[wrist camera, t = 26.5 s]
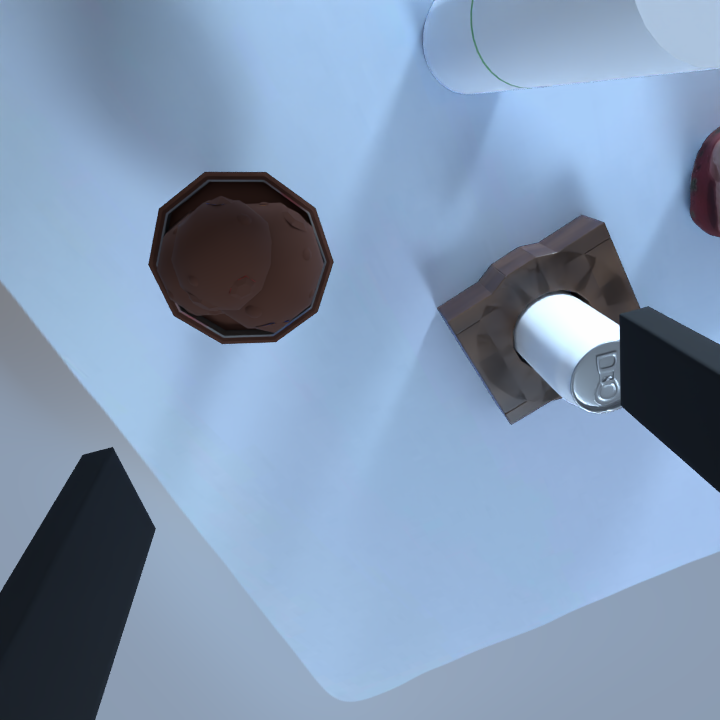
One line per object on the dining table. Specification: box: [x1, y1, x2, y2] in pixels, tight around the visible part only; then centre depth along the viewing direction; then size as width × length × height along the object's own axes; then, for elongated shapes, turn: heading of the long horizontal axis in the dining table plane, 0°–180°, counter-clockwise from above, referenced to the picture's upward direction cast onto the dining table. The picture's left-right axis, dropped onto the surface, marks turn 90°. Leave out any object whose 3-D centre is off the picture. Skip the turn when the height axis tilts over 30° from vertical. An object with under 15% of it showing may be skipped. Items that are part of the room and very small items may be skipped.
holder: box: [437, 215, 640, 425], centre depth 46 cm, size 13×14×4 cm
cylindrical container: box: [423, 0, 720, 95], centre depth 26 cm, size 7×7×25 cm
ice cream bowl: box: [148, 172, 333, 344], centre depth 35 cm, size 11×11×15 cm
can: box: [513, 290, 622, 413], centre depth 42 cm, size 6×6×12 cm
